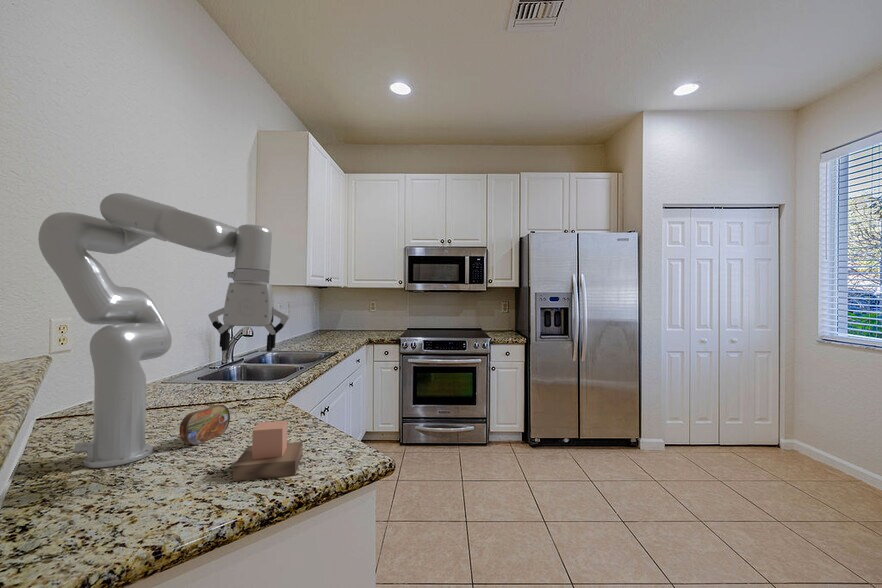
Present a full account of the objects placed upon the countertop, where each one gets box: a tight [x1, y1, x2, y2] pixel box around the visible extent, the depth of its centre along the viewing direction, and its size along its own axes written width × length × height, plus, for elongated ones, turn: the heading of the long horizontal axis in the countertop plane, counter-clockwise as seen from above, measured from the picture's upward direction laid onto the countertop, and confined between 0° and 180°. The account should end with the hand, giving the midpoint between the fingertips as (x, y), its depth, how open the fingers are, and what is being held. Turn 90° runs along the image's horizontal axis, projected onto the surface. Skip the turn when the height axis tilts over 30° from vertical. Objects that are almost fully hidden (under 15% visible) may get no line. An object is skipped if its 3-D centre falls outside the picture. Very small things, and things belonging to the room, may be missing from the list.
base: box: [232, 441, 304, 482], centre depth 86 cm, size 12×12×3 cm
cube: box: [251, 420, 288, 459], centre depth 86 cm, size 6×6×6 cm
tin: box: [179, 404, 231, 446], centre depth 105 cm, size 15×3×8 cm, turn 168°
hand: (247, 350), depth 91 cm, fingers open, 9 cm apart
